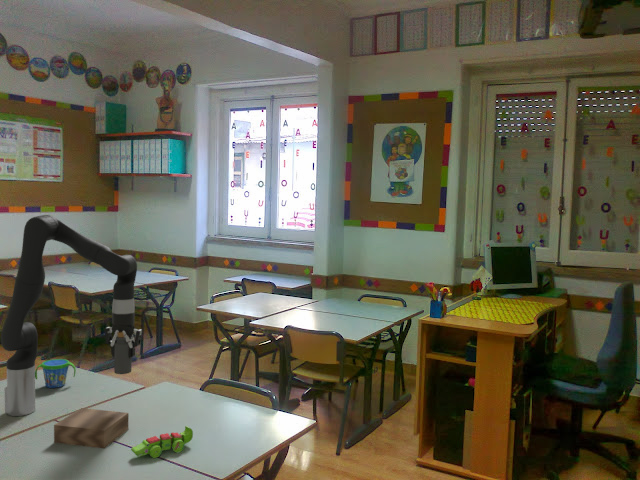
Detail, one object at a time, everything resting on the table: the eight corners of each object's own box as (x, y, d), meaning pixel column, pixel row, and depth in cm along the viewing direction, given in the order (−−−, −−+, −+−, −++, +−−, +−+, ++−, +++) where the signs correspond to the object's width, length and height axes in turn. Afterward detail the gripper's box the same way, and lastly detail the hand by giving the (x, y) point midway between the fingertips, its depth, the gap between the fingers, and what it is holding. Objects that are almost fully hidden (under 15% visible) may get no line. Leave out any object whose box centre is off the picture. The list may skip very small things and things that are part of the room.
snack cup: (78, 380, 240) (78, 358, 239) (72, 389, 230) (72, 365, 229) (39, 382, 237) (39, 359, 236) (31, 390, 227) (31, 366, 226)
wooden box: (54, 442, 180) (53, 424, 180) (81, 424, 195) (81, 408, 195) (104, 448, 177) (104, 430, 177) (128, 429, 192) (128, 412, 192)
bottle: (125, 375, 195) (126, 333, 194) (111, 373, 196) (111, 332, 195) (134, 370, 201) (135, 329, 200) (120, 368, 202) (120, 328, 201)
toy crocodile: (135, 463, 168) (135, 444, 168) (129, 455, 174) (129, 436, 173) (196, 448, 180) (196, 430, 179) (188, 440, 185) (188, 423, 185)
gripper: (99, 311, 194) (99, 358, 196) (136, 314, 192) (136, 361, 193) (110, 307, 202) (110, 352, 203) (147, 310, 199) (146, 355, 201)
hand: (123, 356), depth 198 cm, fingers closed on bottle, 6 cm apart
